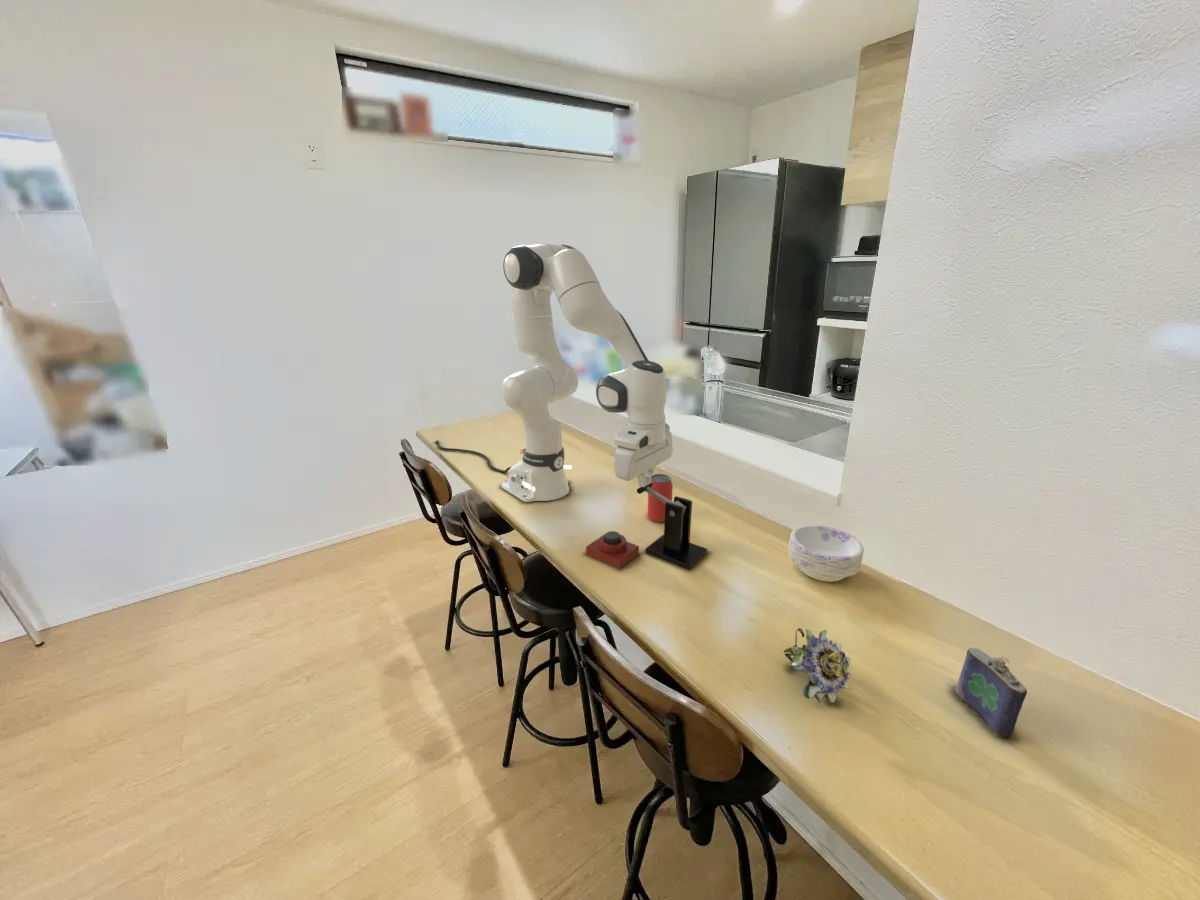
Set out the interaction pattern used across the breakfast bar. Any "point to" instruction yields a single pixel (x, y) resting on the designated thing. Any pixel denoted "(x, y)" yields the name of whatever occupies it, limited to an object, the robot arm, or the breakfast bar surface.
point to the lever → (658, 495)
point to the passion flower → (820, 665)
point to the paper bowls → (825, 552)
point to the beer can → (655, 506)
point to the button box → (612, 551)
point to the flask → (991, 691)
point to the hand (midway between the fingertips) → (644, 484)
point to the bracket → (677, 537)
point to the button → (612, 537)
